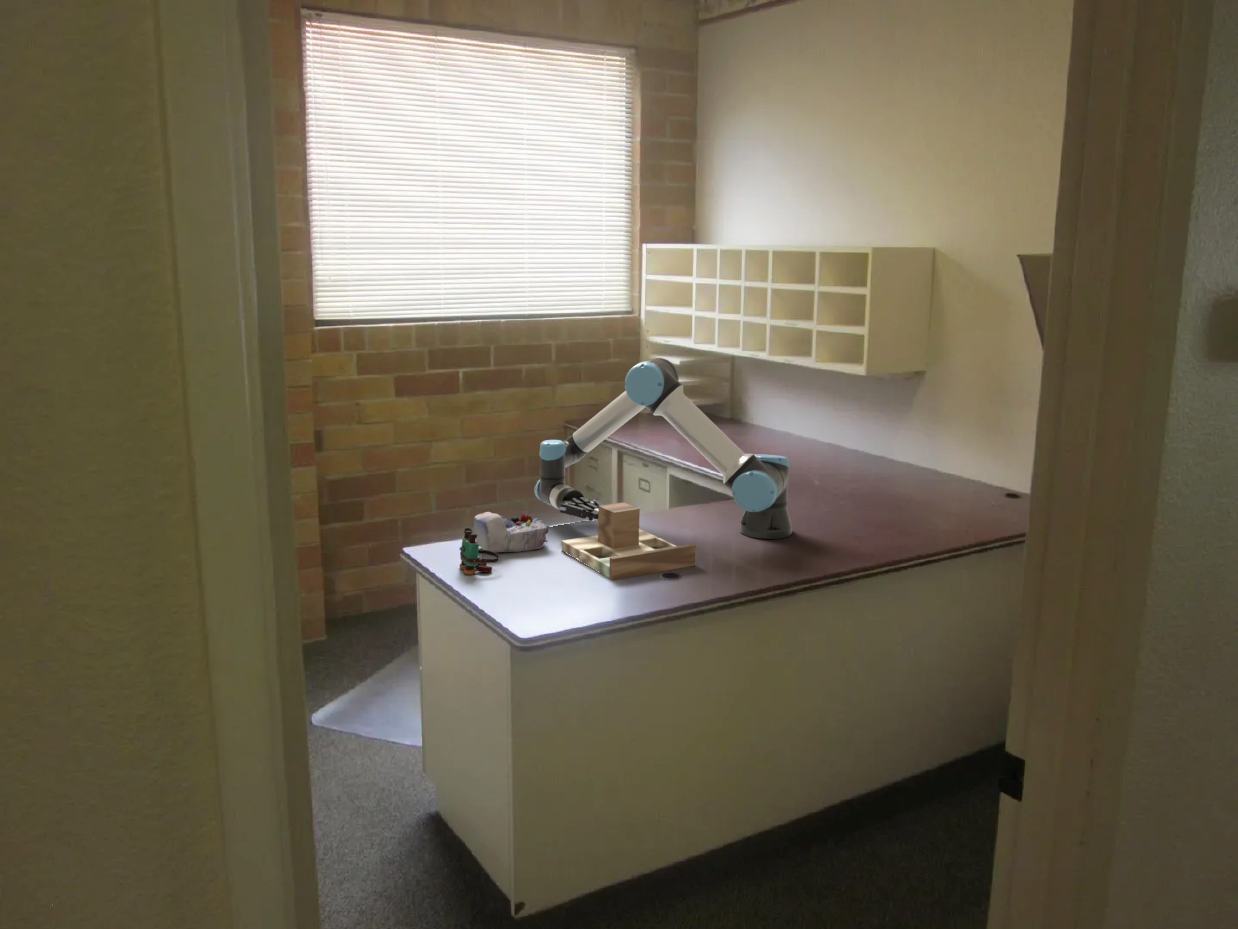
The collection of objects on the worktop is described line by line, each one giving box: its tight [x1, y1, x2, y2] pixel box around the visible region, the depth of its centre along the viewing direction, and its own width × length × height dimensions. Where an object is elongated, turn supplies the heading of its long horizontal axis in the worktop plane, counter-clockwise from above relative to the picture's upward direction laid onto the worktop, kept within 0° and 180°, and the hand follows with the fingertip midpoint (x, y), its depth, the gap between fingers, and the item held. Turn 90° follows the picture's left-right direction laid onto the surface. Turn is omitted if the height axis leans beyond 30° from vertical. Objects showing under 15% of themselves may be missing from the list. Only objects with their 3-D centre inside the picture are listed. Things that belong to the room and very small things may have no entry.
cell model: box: [473, 511, 550, 554], centre depth 274 cm, size 13×11×20 cm
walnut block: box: [597, 501, 641, 549], centre depth 269 cm, size 8×8×10 cm
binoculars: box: [459, 527, 500, 576], centre depth 255 cm, size 9×11×10 cm
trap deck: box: [561, 528, 696, 581], centre depth 267 cm, size 28×25×6 cm
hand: (607, 518), depth 272 cm, fingers closed
